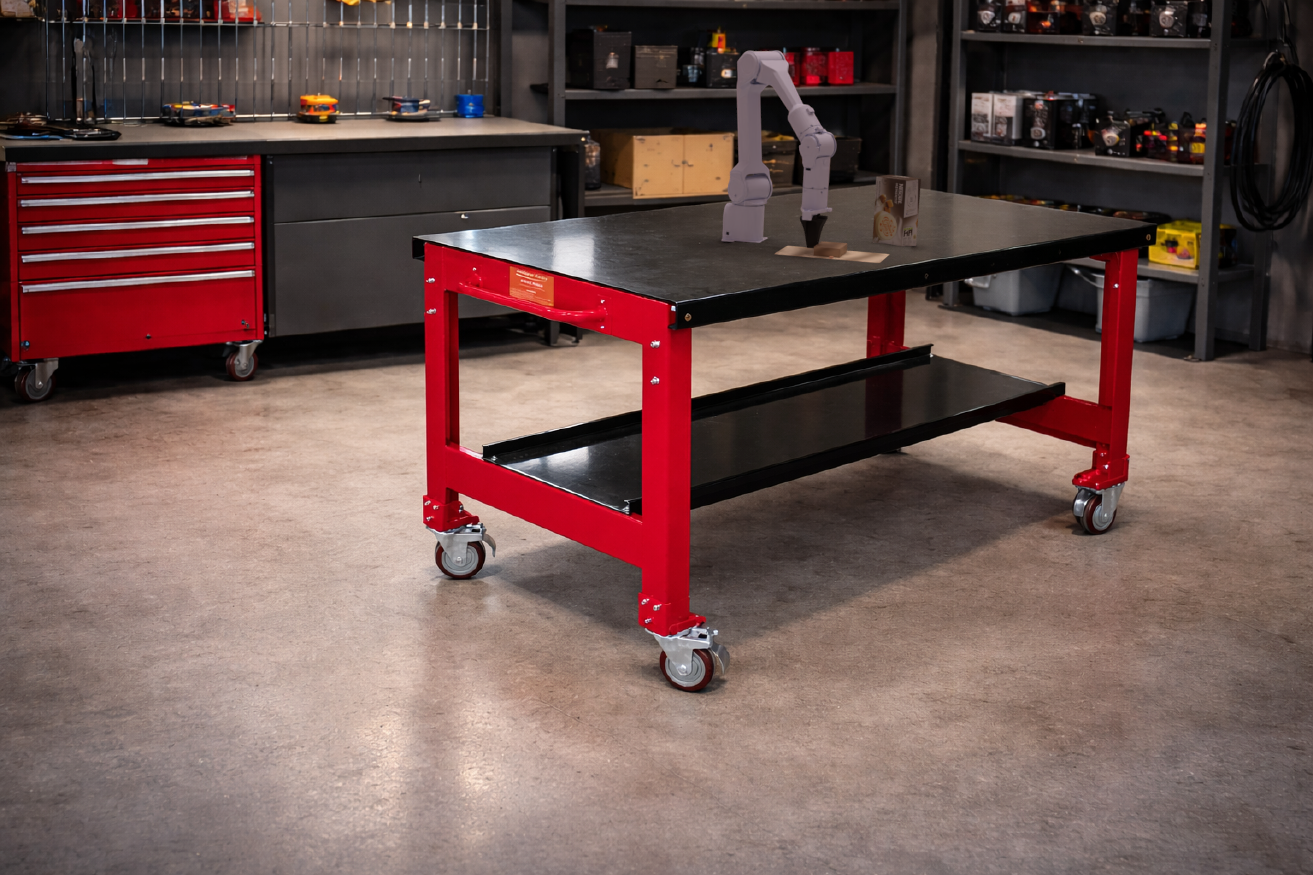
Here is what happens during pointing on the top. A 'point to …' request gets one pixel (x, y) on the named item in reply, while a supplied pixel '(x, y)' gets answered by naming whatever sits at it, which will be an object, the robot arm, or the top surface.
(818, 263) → the top surface
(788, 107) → the robot arm
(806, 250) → the pale wooden flat slab
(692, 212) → the top surface
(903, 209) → the coffee box
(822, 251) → the stub tile
